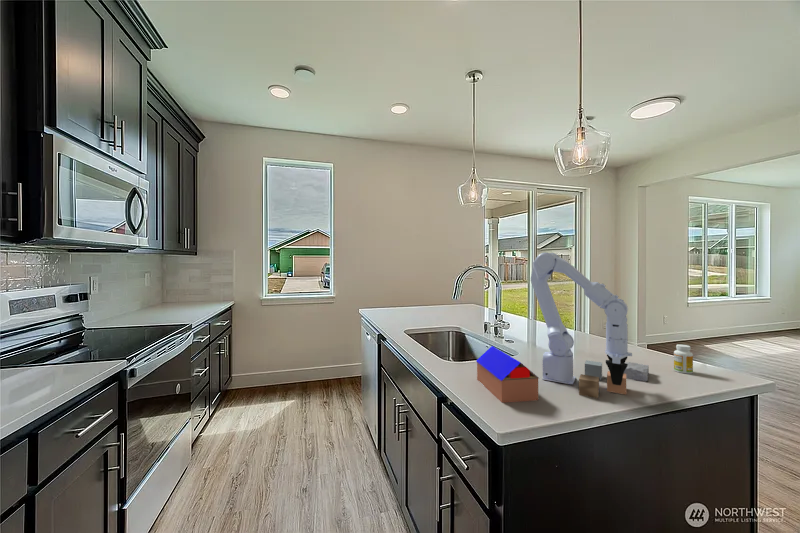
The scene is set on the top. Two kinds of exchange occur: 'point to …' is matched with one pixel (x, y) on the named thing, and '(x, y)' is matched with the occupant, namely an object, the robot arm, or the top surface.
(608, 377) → the terracotta block
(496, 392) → the house
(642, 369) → the stone block
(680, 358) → the supplement bottle
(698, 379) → the top surface
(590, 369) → the slate block
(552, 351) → the robot arm
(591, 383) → the walnut block
